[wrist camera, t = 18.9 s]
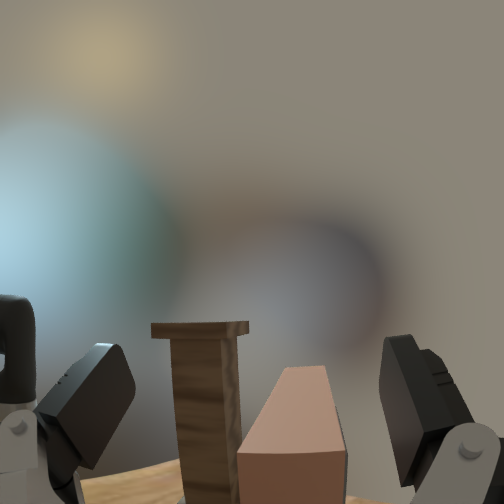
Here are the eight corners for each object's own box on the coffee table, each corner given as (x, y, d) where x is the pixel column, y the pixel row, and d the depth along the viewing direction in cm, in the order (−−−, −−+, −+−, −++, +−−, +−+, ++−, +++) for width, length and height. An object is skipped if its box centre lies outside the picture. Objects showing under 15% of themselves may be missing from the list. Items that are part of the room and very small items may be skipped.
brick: (340, 528, 9) (345, 450, 10) (242, 528, 10) (236, 452, 10) (325, 402, 30) (324, 365, 31) (286, 404, 31) (285, 367, 32)
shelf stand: (239, 528, 32) (226, 321, 38) (171, 518, 33) (150, 322, 40) (256, 485, 45) (248, 320, 51) (201, 481, 47) (189, 322, 53)
